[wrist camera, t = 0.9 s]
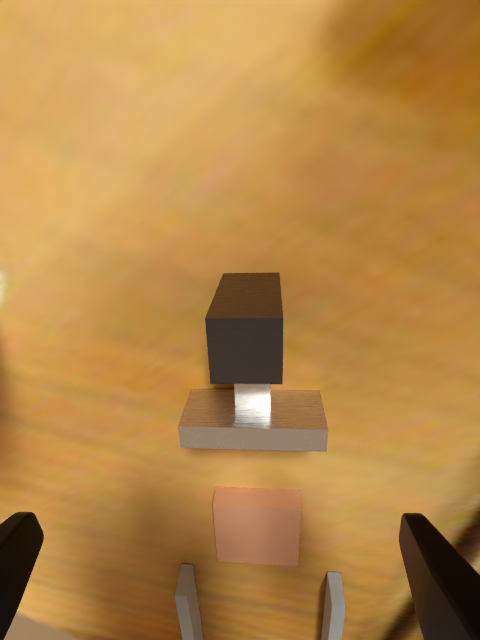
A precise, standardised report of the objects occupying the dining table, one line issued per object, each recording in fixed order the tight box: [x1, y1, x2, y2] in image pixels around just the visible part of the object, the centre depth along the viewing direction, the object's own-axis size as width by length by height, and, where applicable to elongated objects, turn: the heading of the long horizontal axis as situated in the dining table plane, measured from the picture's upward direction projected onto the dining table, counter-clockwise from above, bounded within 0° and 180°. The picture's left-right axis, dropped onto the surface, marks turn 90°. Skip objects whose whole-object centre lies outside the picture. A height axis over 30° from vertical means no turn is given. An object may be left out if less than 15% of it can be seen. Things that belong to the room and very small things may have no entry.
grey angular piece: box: [178, 273, 328, 452], centre depth 18 cm, size 8×9×6 cm
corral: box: [174, 564, 346, 640], centre depth 31 cm, size 13×13×2 cm
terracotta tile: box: [213, 487, 301, 567], centre depth 26 cm, size 6×6×2 cm
